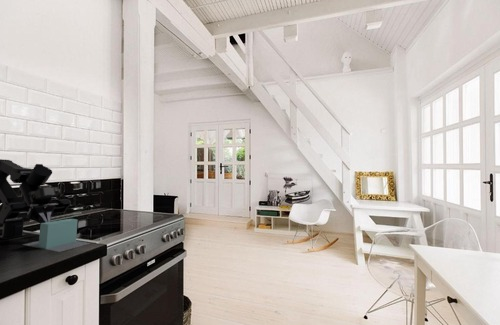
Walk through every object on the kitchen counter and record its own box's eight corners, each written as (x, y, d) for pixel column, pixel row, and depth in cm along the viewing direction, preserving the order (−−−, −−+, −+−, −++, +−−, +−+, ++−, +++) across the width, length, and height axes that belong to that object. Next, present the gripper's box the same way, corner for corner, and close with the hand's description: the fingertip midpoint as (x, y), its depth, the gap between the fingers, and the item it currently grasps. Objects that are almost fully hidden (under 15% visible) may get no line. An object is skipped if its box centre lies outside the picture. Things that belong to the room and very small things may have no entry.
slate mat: (22, 246, 80) (22, 244, 80) (55, 239, 90) (55, 237, 90) (59, 254, 74) (59, 251, 74) (90, 245, 84) (90, 243, 84)
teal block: (38, 247, 78) (40, 223, 79) (68, 240, 87) (70, 218, 88) (46, 248, 77) (48, 224, 77) (76, 241, 86) (77, 219, 86)
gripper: (10, 179, 79) (26, 215, 74) (70, 179, 96) (85, 208, 91) (-4, 201, 81) (10, 237, 76) (57, 197, 98) (71, 226, 94)
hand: (48, 225), depth 84 cm, fingers closed
